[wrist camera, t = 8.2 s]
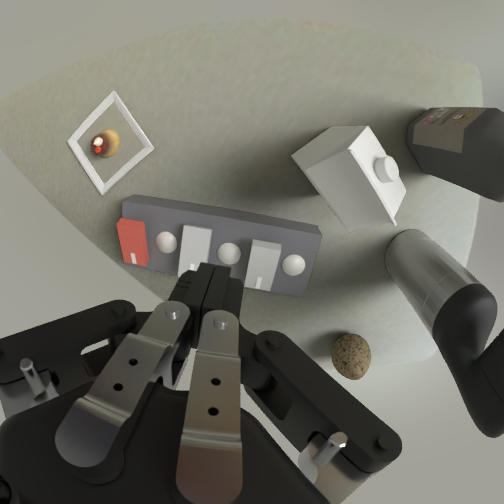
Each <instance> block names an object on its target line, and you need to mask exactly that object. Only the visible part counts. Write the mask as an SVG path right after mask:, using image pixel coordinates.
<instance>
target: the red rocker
mask: <svg viewBox="0 0 504 504" xmlns="http://www.w3.org/2000/svg"><path fill="white" fill-rule="evenodd" d="M116 225H117V230H118V235H119V240H120V245H121V249H122V254H123V258H124V262H127V263H132V264H137V265H141V266H146V265H147V263H148V261H149V255H148V248H147V240H146V232H145V224H144V222H142V221H136V220H130V219H124V218H121V219H120V220H119V221H118V223H117V224H116Z"/></svg>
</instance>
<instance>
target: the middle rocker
mask: <svg viewBox="0 0 504 504" xmlns="http://www.w3.org/2000/svg"><path fill="white" fill-rule="evenodd" d="M212 231H213V228H207V227H202V226H196V225H190V224H185V225H184V228H183V236H182V244H181V252H180V260H179V269H178V277H180V276H181V274H182V273H184V272H186V271H187V270H193V271H197V269H198V267H199V265H200V263H201V262H205V263H208V257H209V250H210V244H211V237H212Z"/></svg>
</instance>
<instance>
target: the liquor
mask: <svg viewBox="0 0 504 504" xmlns="http://www.w3.org/2000/svg"><path fill="white" fill-rule="evenodd" d="M406 143H407V144H408V146H409V148H410V149H411V151H412V153H413V155H414V156H415V158H416V160H417V162H418V163H419V165H420V167H421V169H422V171H423V172H425V173H427V174H430V175H433V176H435V177H438V178H441V179H443V180H446V181H448V182H451V183H453V184H456V185H458V186H461V187H463V188H465V189H468V190H470V191H472V192H475V193H477V194H479V195H481V196H483V197H486V198H488V199H492V200H495V201H497V202H504V112H502V111H500V110H499V109H497V108H478V107H446V108H430V109H428V110H427V111H426V112H424V113H423V114H422V115H421V116H419V117H418V118H417V119H415V120H414V121H413V122H411V123H410V124H409V125H408V132H407V141H406Z"/></svg>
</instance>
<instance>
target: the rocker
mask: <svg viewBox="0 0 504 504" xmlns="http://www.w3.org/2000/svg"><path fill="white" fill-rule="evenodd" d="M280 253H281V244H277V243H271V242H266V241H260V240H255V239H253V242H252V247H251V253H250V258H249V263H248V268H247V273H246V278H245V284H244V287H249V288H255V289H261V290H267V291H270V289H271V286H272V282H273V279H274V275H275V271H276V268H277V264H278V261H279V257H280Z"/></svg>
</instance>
